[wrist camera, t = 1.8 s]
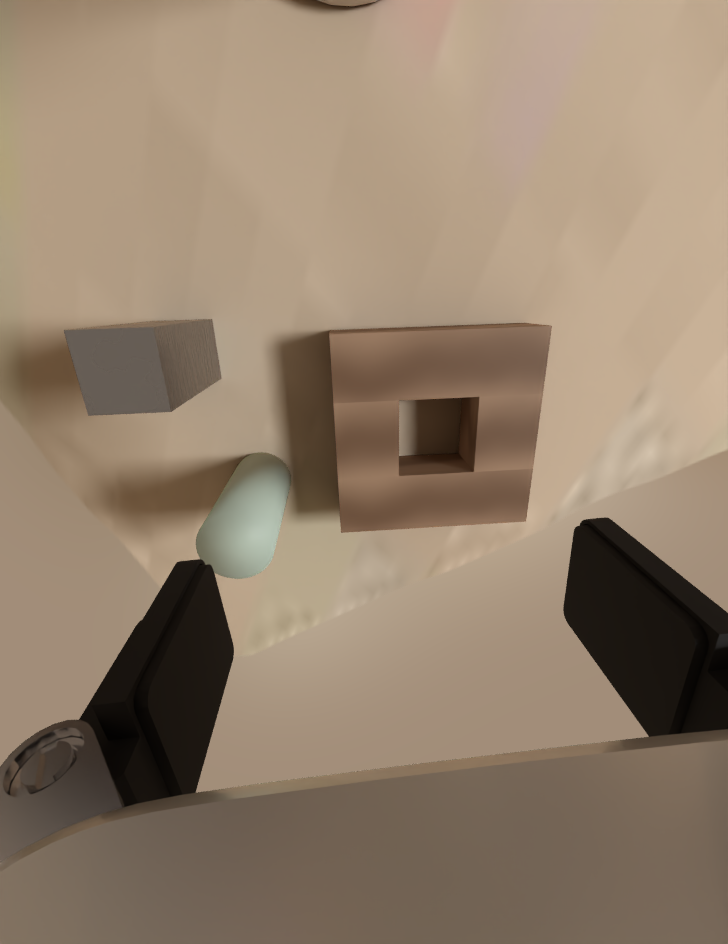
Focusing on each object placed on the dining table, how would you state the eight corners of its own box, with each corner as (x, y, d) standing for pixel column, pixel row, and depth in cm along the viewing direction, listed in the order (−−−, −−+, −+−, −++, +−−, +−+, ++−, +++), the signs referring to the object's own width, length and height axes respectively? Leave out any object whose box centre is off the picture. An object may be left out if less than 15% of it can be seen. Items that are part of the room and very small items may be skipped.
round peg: (231, 454, 32) (189, 515, 23) (288, 451, 32) (269, 510, 23) (239, 504, 34) (203, 581, 25) (293, 501, 34) (278, 576, 25)
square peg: (164, 380, 30) (88, 415, 20) (152, 321, 28) (63, 330, 19) (221, 378, 30) (170, 411, 21) (211, 319, 28) (153, 327, 19)
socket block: (329, 330, 29) (329, 334, 25) (524, 323, 30) (551, 325, 26) (340, 507, 34) (341, 532, 31) (505, 498, 35) (525, 521, 31)
